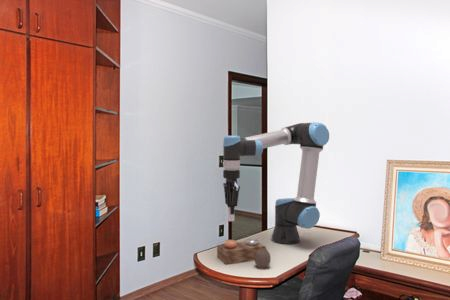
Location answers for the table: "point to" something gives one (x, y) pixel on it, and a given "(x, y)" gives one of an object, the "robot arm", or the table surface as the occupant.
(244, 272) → the table surface
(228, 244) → the terracotta plunger
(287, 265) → the table surface
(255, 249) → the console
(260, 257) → the vase
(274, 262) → the table surface
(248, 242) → the grey plunger
